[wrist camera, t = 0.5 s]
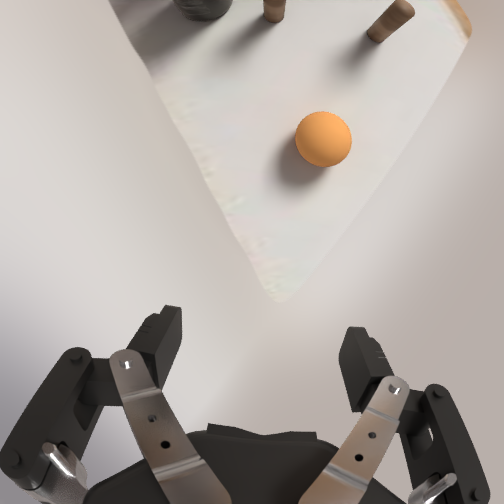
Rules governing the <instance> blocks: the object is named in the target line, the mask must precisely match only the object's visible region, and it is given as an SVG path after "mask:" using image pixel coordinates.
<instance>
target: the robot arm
mask: <svg viewBox="0 0 504 504" xmlns="http://www.w3.org/2000/svg"><path fill="white" fill-rule="evenodd" d="M181 340H182V311H181V308H180V307H175V306H169V305H165V306H164V308H163V309H162V311H161V312H160V314H156V313H153V314H152V315H150V316H148V317H147V318H146V319H145V320H144V322H143V323H142V326H140V328H139V329H138V331H137V332H136V334H135V336H134V337H133V339H132V340H131V342H130V343H129V345H128V346H127V348H126V349H123V350H119V351H117V352H115V353H114V354H112V355H111V357H110V358H108V359H103V358H92V357H91V354H90V352H89V351H88V350H87V349H84V348H80V347H75V348H71V349H68V350H67V351H65V352H64V353H63V355H62V356H61V357H60V359H59V360H58V361H57V363H56V364H55V366H54V367H53V369H52V370H51V371H50V373H49V374H48V376H47V377H46V379H45V380H44V381H43V383H42V384H41V386H40V387H39V389H38V390H37V392H36V393H35V395H34V396H33V398H32V399H31V401H30V402H29V404H28V405H27V407H26V409H25V410H24V412H23V413H22V415H21V417H20V419H19V420H18V421H17V423H16V425H15V426H14V428H13V430H12V431H11V433H10V435H9V437H8V438H7V440H6V442H5V444H4V446H3V447H2V449H1V451H0V468H1V470H2V471H3V472H4V473H5V474H6V475H7V476H8V477H9V478H10V479H11V480H13V481H14V482H15V483H16V484H17V486H19V487H20V488H21V489H22V490H23V491H25V492H26V493H27V494H29V495H30V496H31V497H33V498H34V499H36V500H38V501H39V502H41V503H42V504H406V503H405V502H404V501H402V500H401V499H400V498H398V497H397V496H396V495H394V494H393V493H392V492H390V491H389V490H388V489H387V488H385V487H384V486H383V485H382V484H381V483H379V482H378V481H377V480H376V479H374V478H373V474H374V473H375V471H376V470H377V468H378V466H379V464H380V462H381V460H382V458H383V456H384V455H385V453H386V450H387V449H388V447H389V444H390V442H391V440H392V438H393V436H394V434H395V433H399V434H400V438H401V442H402V446H403V449H404V453H405V457H406V462H407V466H408V470H409V474H410V479H411V483H412V488H413V491H412V492H411V494H410V496H409V499H408V504H488V502H489V499H490V490H489V486H488V483H487V480H486V477H485V475H484V472H483V469H482V466H481V464H480V461H479V459H478V456H477V453H476V451H475V448H474V446H473V443H472V441H471V438H470V436H469V434H468V431H467V429H466V427H465V425H464V422H463V420H462V418H461V416H460V414H459V412H458V409H457V408H456V405H455V403H454V401H453V399H452V397H451V395H450V393H449V392H448V390H447V389H446V388H444V387H443V386H441V385H438V384H431V385H429V386H427V388H426V389H425V391H424V392H423V391H417V390H412V389H409V385H408V384H407V383H406V381H404V380H403V379H401V378H399V377H396V376H394V373H393V371H392V369H391V367H390V365H389V363H388V361H387V359H386V358H385V357H386V356H385V354H384V353H383V350H382V348H381V346H380V344H379V343H378V342H377V341H376V340H375V339H374V338H370V337H369V336H368V334H367V332H366V329H365V328H364V327H349V328H348V329H347V332H346V335H345V338H344V341H343V343H342V346H341V349H340V353H339V365H340V368H341V372H342V376H343V379H344V383H345V387H346V390H347V394H348V398H349V402H350V406H351V410H352V412H361V414H362V416H361V418H360V419H359V421H358V422H357V424H356V425H355V427H354V428H353V430H352V431H351V433H350V434H349V436H348V437H347V439H346V440H345V442H344V443H343V444H342V446H341V448H340V449H339V448H338V447H336V446H334V445H332V444H330V443H328V442H326V441H323V440H319V439H317V435H316V432H293V431H292V432H291V431H290V432H284V433H278V434H271V435H259V434H256V433H252V432H249V431H246V430H243V429H239V428H236V427H230V426H223V425H216V424H210V423H208V427H207V430H203V431H195V432H191V433H188V434H185V432H184V431H183V429H182V427H181V425H180V424H179V422H178V420H177V419H176V417H175V415H174V413H173V411H172V410H171V408H170V406H169V404H168V402H167V401H166V399H165V397H164V395H163V393H162V388H163V386H164V384H165V381H166V379H167V376H168V374H169V371H170V369H171V366H172V364H173V361H174V359H175V357H176V354H177V352H178V350H179V347H180V344H181ZM104 406H123V409H124V411H125V414H126V417H127V419H128V422H129V425H130V427H131V429H132V432H133V434H134V437H135V439H136V441H137V444H138V446H139V448H140V450H141V453H142V455H143V457H144V459H142V460H140V461H139V462H137V463H135V464H133V465H132V466H130V467H128V468H126V469H124V470H122V471H121V472H119V473H117V474H115V475H113V476H111V477H109V478H107V479H105V480H103V481H101V482H99V483H97V484H96V485H94V486H93V487H92V488H90V490H88V489H87V486H86V479H87V472H86V469H85V467H84V466H83V464H82V463H81V462H80V460H81V458H82V456H83V453H84V451H85V449H86V446H87V444H88V441H89V439H90V437H91V434H92V432H93V430H94V428H95V425H96V423H97V421H98V418H99V416H100V414H101V412H102V410H103V408H104ZM429 428H430V429H431V431H432V434H433V441H432V438H431V435H430V432H429V430H428V429H429Z"/></svg>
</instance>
